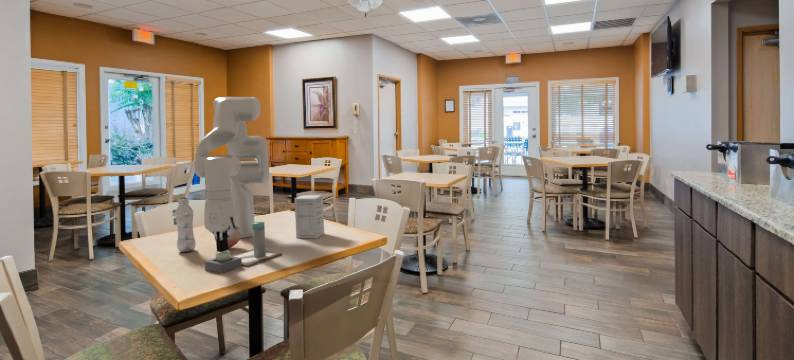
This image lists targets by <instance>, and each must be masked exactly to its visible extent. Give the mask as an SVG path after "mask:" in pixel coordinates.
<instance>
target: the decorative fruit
mask: <svg viewBox="0 0 794 360" xmlns="http://www.w3.org/2000/svg"><path fill="white" fill-rule="evenodd" d="M238 229H239V227H238V226H236V227H235V229H234V234H232V235H229V238H228V250H229V249H231V248H232V247H234V246H236V245H237V244H238V243H239V242H240V239H241V238H240V232H239V230H238ZM214 240H215V241H216V240H217V239H215V238H214Z"/></svg>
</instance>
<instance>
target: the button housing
mask: <svg viewBox="0 0 794 360" xmlns="http://www.w3.org/2000/svg"><path fill="white" fill-rule="evenodd" d="M240 268H243V266H242V260H241V258H238V257H233V255H230V260H228V261H223V262H218V261H216V257H215V258H211V259H207V260H205V261H204V269H205V271H207V270H208V271H207V272H211V271H212V273H216V272H217V274H220V275H221V274H222V275H223V274H225V273H228V272H231V271H234V270H237V269H240Z"/></svg>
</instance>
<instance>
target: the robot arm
mask: <svg viewBox="0 0 794 360" xmlns="http://www.w3.org/2000/svg"><path fill="white" fill-rule="evenodd" d="M212 105H213V109H214V113H213V114H214V116H213V123H212V124H213V125H212V130H211V131H210V132H209V133H206V135H205V136H203V138H202V139H201V140H200V141H199V142H198V144H197V146H196V147H195V154H194V161H193V167H194V172H195V175H196V176H197V177H199V178H201V179H202V178H203V179H205V187H206V189H205V190H206V199H205V202H204V212H203V213H204V215H203V216H204V228H205V229H206V230H207V231H208V232H209V233H211V234H213V236H214V240H215V239H217V240H215V243H216V252H224V251H227V250H228V251H229V249H228V238H229V235H232V234H234V229H235V227H236V226H238V227H239V229H238V230H239V232H240V239H246V238H251V237H252V238H253V229H252V223H254V222H255V209H254V208H255V207H254V194H253V191H252V190H251V188H249V186H248V185H250V184H253V185H254V184H264V183H267V182H268V181H269V179H270V164H269V162H270V161H269V150H268V145H267V141H266V139H265V138H264V137H263V136H261V135H248V125H247V122H249V121H250V122H251V121H256V120H257V119H258V118H259V117H260V115H261V111H262V110H261V107H262V106H261V102H260V100H259V99H258V98H257V97H255V96H221V97H217V98H215V99H214V100H213V104H212ZM225 145H226V150H227V154H216V155H215V154H214V155H213V154H211V155H208V154H210V152H212V151H213V150H215V149H217V148H220V147H222V146H225ZM253 159H254V160H253ZM241 160H242V161H241ZM243 160H245V161H243ZM249 160H250V161H249ZM252 160H253V161H252Z"/></svg>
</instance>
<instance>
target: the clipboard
mask: <svg viewBox="0 0 794 360" xmlns="http://www.w3.org/2000/svg"><path fill="white" fill-rule="evenodd" d="M282 254H283V253H281V252H275V251H273V250H270V249H266V256H265V257H263V258H255V257H254V248H252V249H250V250H246V251H243V252H238V253H236V254H233V255H232V256H233V257H238V258H241V260H242V268H243V267H245V268H249V267H251V266H255V265H259V264H261V263H263V262H266V261H269V260H272V259H275V258H277V257H281V256H282Z"/></svg>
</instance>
